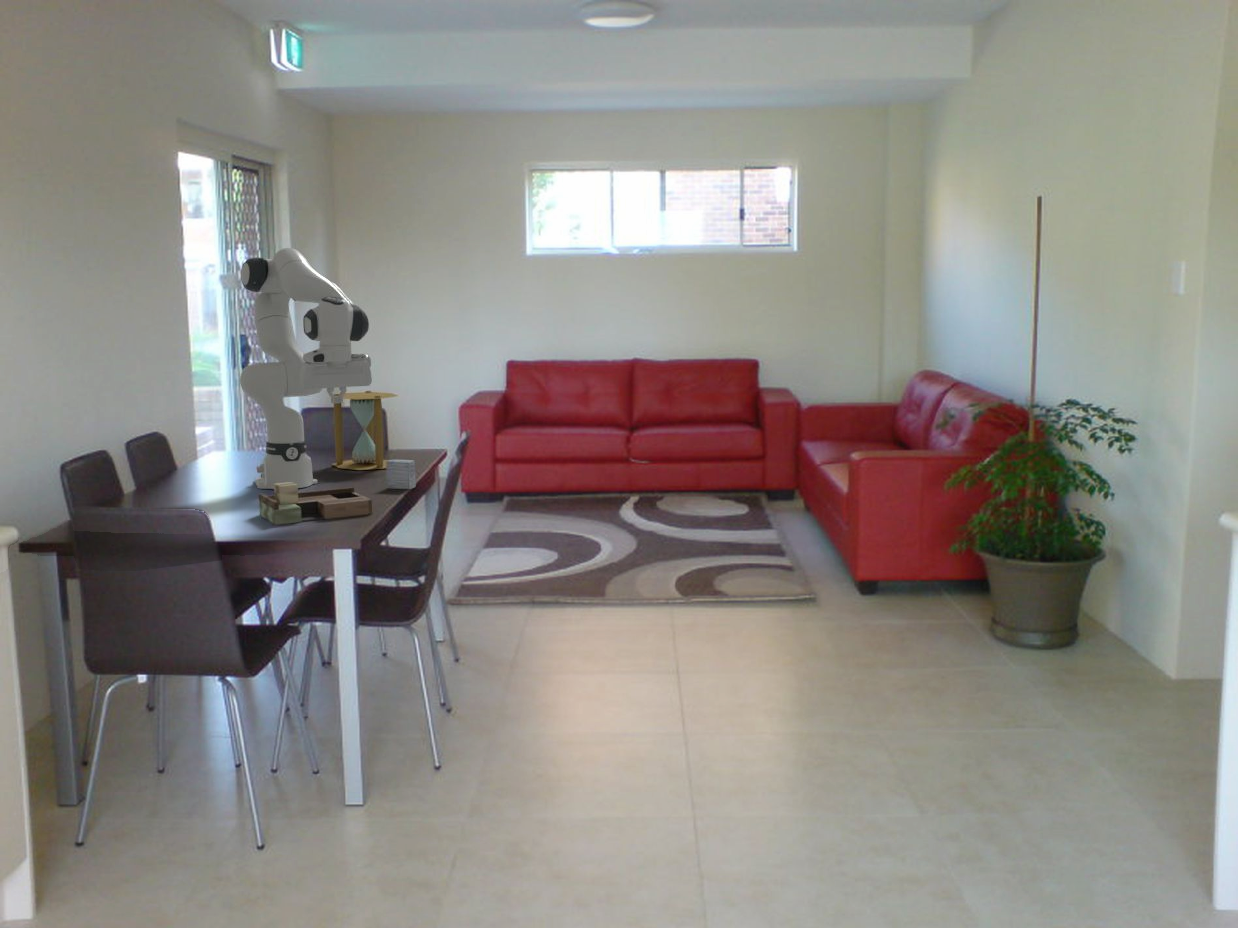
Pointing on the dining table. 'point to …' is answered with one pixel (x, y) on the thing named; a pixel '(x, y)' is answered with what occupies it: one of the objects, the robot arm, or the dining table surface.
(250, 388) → the robot arm
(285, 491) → the maple block
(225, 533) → the dining table surface
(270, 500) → the board
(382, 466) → the hourglass
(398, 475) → the medicine box
